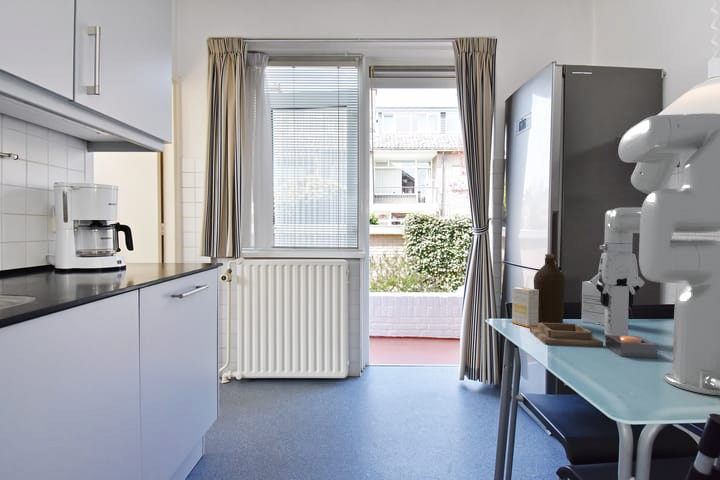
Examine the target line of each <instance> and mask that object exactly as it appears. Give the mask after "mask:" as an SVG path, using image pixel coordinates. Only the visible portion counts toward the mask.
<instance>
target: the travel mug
mask: <svg viewBox="0 0 720 480" xmlns="http://www.w3.org/2000/svg"><path fill="white" fill-rule="evenodd" d="M616 283H617V284H616V285H614V286H612V285H609V289H608V291H607V294H608V295H609V300H608V306H607V307H606V306H605V325H604V337H605V338H606V335H614V336H629V335H628V332H629V308H630V307H629V286H628V285H627V284H626V283H627V278H624V279H617V281H616Z"/></svg>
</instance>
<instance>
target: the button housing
mask: <svg viewBox="0 0 720 480" xmlns="http://www.w3.org/2000/svg"><path fill="white" fill-rule="evenodd" d="M631 336H632V337H637V338H640V339H641V343H633V342H623V341H621V340H620V336H614V335H606V337H605V348H606V349H607V350H609V351H611V352H613V353H614V354H616V355H618V356H619V357H623V358H625V357H627V358H647V359H648V358H649V359H651V358H653V359H658V344H657V343H654V342H652V341H650V340H647V339H646V338H644V337H642V336H638V335H637V336H633V335H631Z"/></svg>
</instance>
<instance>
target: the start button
mask: <svg viewBox="0 0 720 480" xmlns="http://www.w3.org/2000/svg"><path fill="white" fill-rule="evenodd" d="M632 336H633V335H628V336H620V340H621V341H623V342H633V343H641V339H640V338H637V337H632Z"/></svg>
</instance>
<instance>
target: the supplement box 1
mask: <svg viewBox="0 0 720 480" xmlns="http://www.w3.org/2000/svg"><path fill="white" fill-rule="evenodd" d="M511 291H512V293H511V294H512V298H511V300H512V301H511V306H512V307H511V323H512V324H513V323H514V324H515V325H517V324H518V326H521V325H522V326H523V327H524V326H525V327H524V328H528V327H538V299H539V290H537V289H534V288H530V287H524V286H523V287H522V286H518V287H517V286H516V287H512V288H511ZM522 326H521V327H522Z"/></svg>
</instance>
